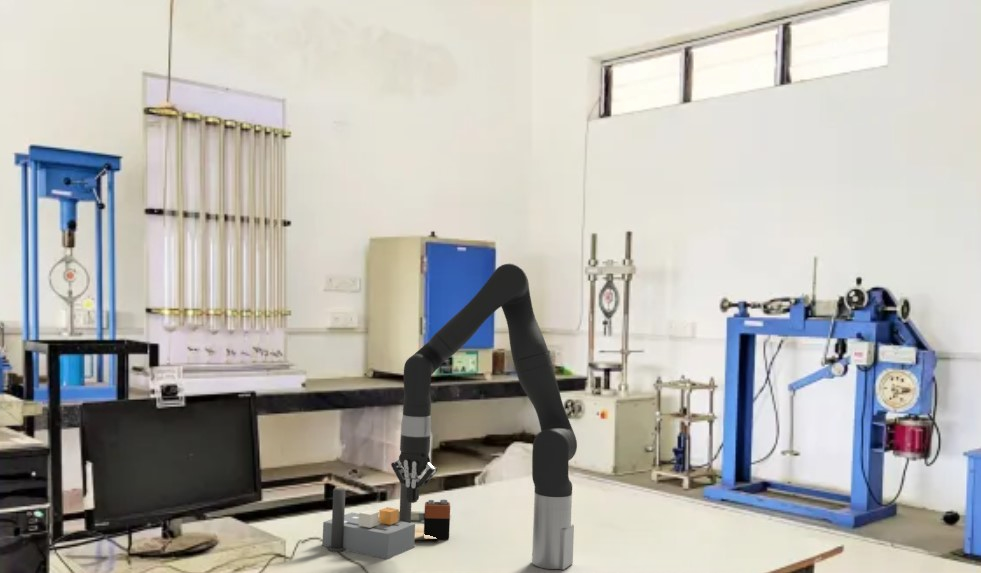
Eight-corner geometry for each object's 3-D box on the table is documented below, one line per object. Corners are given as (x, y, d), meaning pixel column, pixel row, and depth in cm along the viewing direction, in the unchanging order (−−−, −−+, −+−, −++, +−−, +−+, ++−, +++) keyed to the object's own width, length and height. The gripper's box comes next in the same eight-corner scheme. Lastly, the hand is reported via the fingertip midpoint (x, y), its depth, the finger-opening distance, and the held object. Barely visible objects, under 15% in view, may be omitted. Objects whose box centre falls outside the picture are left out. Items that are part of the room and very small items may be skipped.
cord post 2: (415, 540, 220) (418, 483, 220) (406, 544, 216) (409, 486, 217) (401, 538, 222) (404, 481, 223) (392, 542, 218) (394, 484, 219)
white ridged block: (378, 524, 211) (378, 512, 211) (370, 527, 208) (370, 514, 208) (366, 522, 212) (367, 509, 212) (358, 525, 209) (359, 512, 209)
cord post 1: (349, 548, 211) (351, 489, 211) (338, 553, 207) (341, 492, 207) (335, 545, 213) (337, 486, 213) (324, 550, 209) (326, 489, 209)
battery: (449, 540, 222) (450, 502, 222) (423, 539, 222) (424, 501, 222) (448, 535, 226) (450, 498, 227) (423, 535, 226) (425, 498, 226)
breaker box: (414, 547, 214) (415, 523, 214) (387, 559, 204) (388, 533, 204) (351, 535, 223) (352, 512, 224) (322, 545, 213) (323, 521, 213)
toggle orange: (398, 521, 214) (398, 509, 214) (390, 524, 211) (390, 512, 211) (386, 519, 216) (387, 507, 216) (378, 522, 213) (379, 510, 213)
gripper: (445, 434, 211) (442, 503, 211) (402, 428, 217) (398, 495, 217) (430, 438, 204) (426, 509, 204) (385, 431, 211) (382, 500, 210)
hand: (412, 501), depth 211 cm, fingers closed
